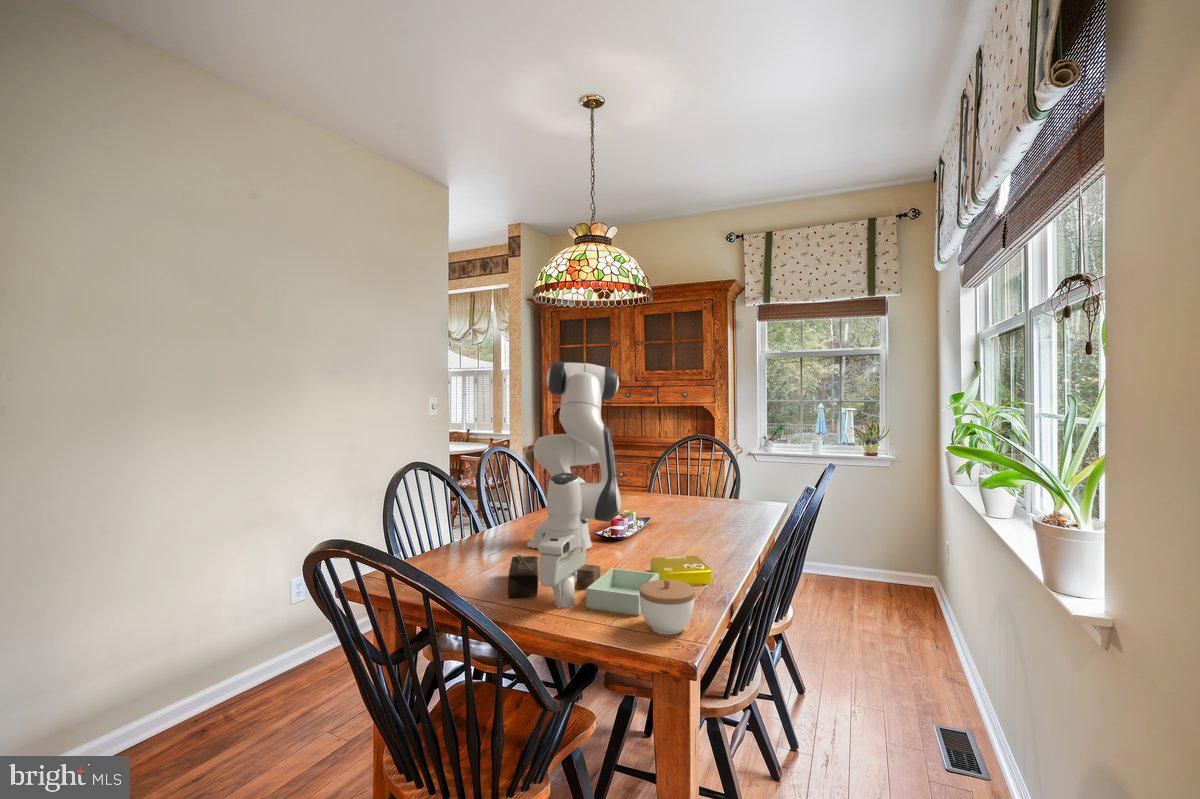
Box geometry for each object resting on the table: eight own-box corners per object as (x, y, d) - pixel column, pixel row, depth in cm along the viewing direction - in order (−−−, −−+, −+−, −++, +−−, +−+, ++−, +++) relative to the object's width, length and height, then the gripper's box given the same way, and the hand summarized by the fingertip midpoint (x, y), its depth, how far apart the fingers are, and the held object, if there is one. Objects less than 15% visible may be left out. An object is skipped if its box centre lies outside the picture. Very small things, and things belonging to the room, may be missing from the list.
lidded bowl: (705, 627, 133) (705, 579, 133) (674, 645, 124) (674, 594, 124) (660, 613, 142) (660, 568, 142) (628, 629, 132) (628, 581, 132)
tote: (586, 608, 145) (586, 588, 145) (611, 585, 161) (611, 567, 161) (638, 616, 140) (638, 595, 140) (659, 592, 156) (659, 573, 156)
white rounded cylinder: (551, 606, 146) (551, 579, 146) (560, 599, 151) (559, 573, 151) (569, 609, 144) (569, 581, 144) (577, 602, 149) (577, 575, 149)
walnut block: (576, 587, 161) (576, 569, 160) (584, 581, 165) (583, 564, 165) (593, 589, 159) (593, 571, 159) (600, 583, 163) (600, 566, 163)
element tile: (697, 569, 177) (697, 553, 177) (714, 585, 162) (714, 568, 162) (649, 571, 175) (649, 556, 175) (661, 589, 160) (661, 571, 160)
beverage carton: (538, 575, 171) (538, 553, 171) (538, 599, 152) (538, 574, 152) (511, 576, 171) (511, 553, 170) (507, 600, 151) (507, 575, 151)
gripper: (570, 528, 158) (570, 578, 158) (534, 547, 139) (534, 605, 139) (591, 530, 156) (592, 581, 156) (558, 550, 137) (558, 608, 137)
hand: (564, 592), depth 148 cm, fingers open, 6 cm apart
